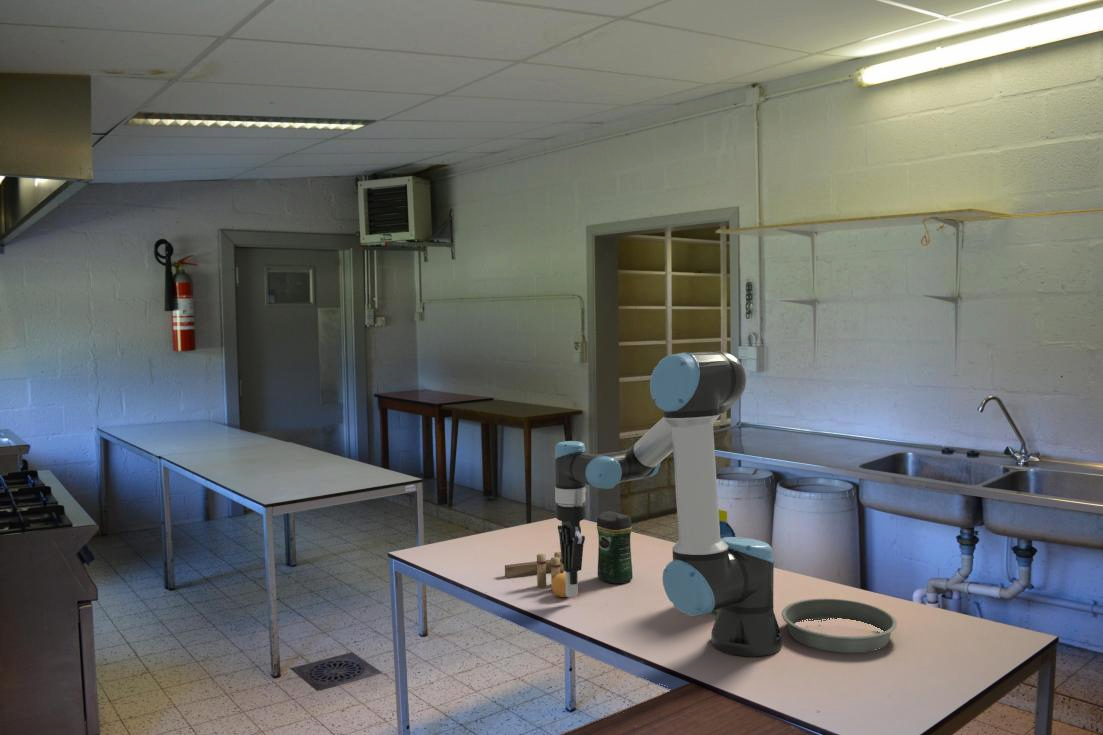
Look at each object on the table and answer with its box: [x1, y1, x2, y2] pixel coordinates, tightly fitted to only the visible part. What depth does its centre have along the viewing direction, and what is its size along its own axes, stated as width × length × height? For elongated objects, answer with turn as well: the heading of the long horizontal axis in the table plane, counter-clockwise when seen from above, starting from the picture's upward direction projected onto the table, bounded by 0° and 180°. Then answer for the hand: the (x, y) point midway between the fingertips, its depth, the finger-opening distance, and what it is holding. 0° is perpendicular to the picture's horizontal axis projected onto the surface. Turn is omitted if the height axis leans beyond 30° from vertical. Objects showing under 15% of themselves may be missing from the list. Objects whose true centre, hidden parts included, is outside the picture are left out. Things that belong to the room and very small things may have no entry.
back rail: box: [504, 559, 565, 579], centre depth 244 cm, size 2×18×3 cm, turn 110°
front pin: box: [550, 556, 560, 592], centre depth 228 cm, size 2×2×8 cm
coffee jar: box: [596, 510, 633, 584], centre depth 236 cm, size 10×8×19 cm
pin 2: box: [553, 551, 565, 574], centre depth 233 cm, size 2×2×8 cm
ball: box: [551, 573, 568, 598], centre depth 223 cm, size 6×6×6 cm
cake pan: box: [781, 597, 898, 653], centre depth 194 cm, size 25×25×4 cm
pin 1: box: [536, 553, 547, 589], centre depth 232 cm, size 2×2×8 cm
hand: (571, 595), depth 217 cm, fingers closed
